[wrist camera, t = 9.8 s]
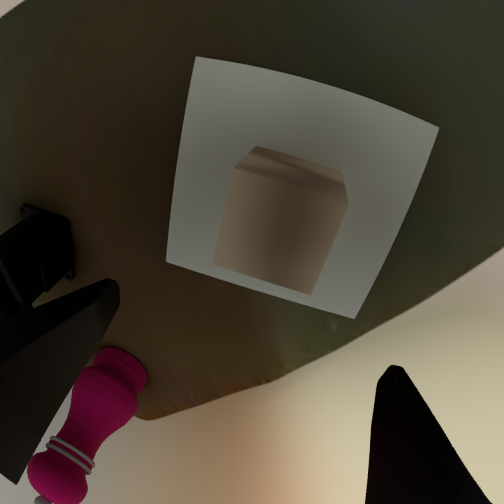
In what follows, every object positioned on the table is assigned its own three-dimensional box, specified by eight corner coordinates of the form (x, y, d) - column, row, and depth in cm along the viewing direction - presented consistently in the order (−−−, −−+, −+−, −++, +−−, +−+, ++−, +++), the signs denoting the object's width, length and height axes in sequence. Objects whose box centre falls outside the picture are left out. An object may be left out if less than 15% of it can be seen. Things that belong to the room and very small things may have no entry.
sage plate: (171, 254, 24) (166, 261, 23) (202, 57, 16) (196, 56, 15) (353, 310, 23) (354, 318, 22) (433, 125, 15) (439, 127, 15)
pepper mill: (92, 333, 31) (-7, 477, 14) (150, 357, 31) (59, 525, 14) (102, 372, 35) (25, 500, 18) (154, 394, 34) (84, 536, 17)
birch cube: (237, 222, 20) (212, 264, 16) (256, 145, 18) (233, 167, 13) (314, 246, 20) (310, 295, 16) (342, 172, 17) (348, 203, 13)
